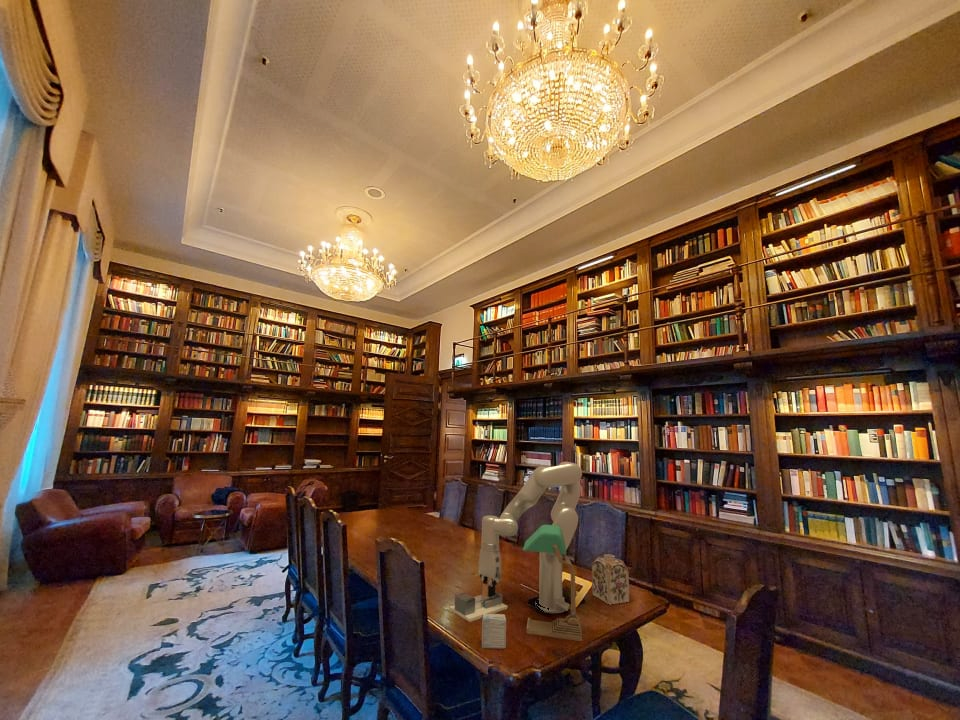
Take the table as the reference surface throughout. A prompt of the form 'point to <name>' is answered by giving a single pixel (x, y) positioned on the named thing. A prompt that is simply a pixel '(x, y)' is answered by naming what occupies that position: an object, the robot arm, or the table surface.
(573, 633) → the banker's lamp
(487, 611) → the board
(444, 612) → the table surface
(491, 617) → the medicine box
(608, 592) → the decorative jar
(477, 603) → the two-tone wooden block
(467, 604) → the socket
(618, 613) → the table surface
